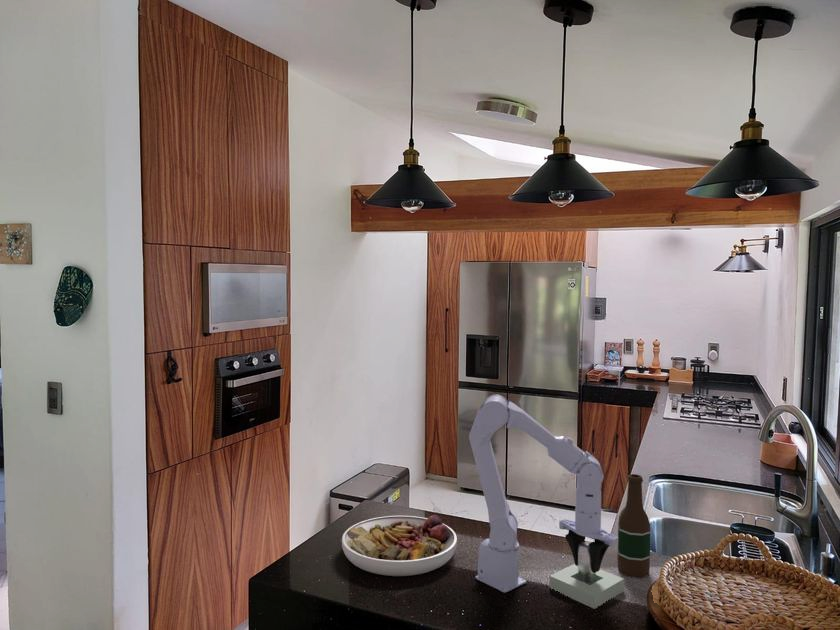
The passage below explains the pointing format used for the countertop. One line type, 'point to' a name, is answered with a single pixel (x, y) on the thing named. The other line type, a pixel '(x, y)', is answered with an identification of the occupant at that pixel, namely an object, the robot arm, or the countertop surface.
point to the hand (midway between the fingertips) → (587, 567)
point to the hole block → (587, 586)
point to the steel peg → (585, 563)
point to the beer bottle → (634, 533)
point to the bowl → (399, 545)
